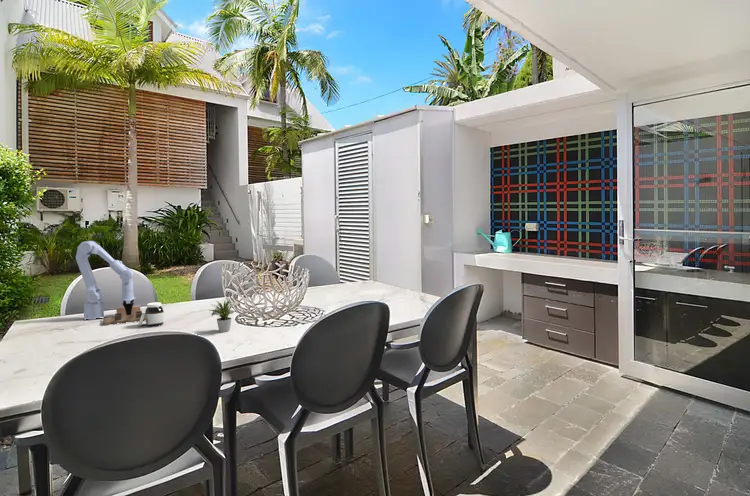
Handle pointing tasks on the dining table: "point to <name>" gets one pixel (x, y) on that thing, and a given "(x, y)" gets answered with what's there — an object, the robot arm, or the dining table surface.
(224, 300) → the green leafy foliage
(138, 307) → the orange brown rectangular block
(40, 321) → the dining table surface
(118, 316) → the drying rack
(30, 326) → the dining table surface
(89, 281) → the robot arm
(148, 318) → the spread jar
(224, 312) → the house plant
